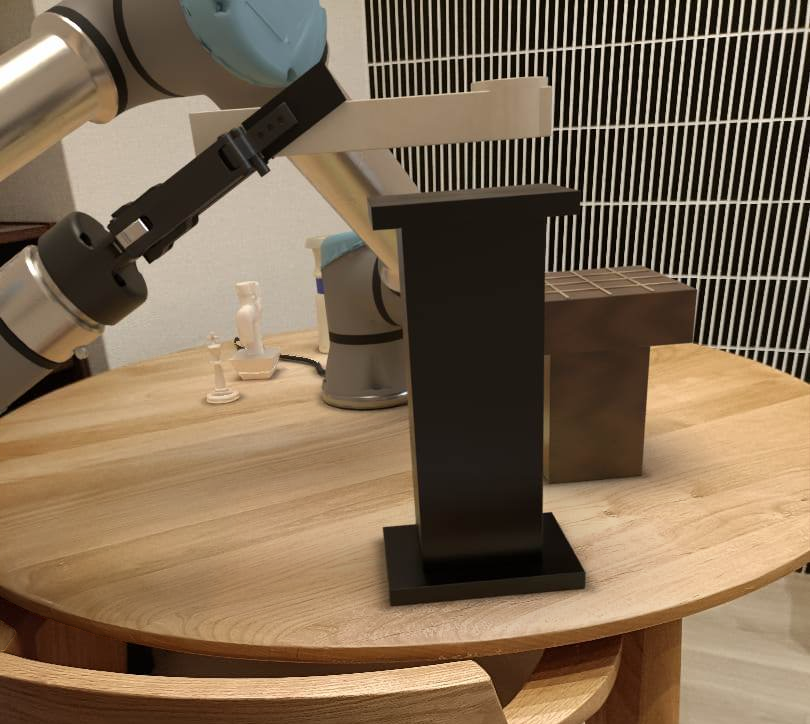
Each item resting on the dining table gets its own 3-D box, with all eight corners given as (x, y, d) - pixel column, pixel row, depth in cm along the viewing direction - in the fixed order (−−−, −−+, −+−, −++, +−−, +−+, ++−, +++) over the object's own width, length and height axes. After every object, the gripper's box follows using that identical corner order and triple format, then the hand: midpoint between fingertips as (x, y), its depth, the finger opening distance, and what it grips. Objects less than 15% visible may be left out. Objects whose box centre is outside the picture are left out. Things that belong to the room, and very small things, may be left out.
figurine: (230, 384, 131) (214, 288, 125) (244, 368, 140) (230, 278, 133) (274, 382, 131) (260, 285, 124) (286, 367, 139) (274, 275, 132)
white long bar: (195, 163, 54) (184, 101, 53) (206, 161, 59) (197, 104, 57) (555, 136, 55) (556, 74, 53) (538, 136, 60) (538, 79, 58)
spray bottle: (342, 340, 154) (327, 197, 143) (372, 346, 149) (360, 197, 138) (307, 350, 149) (290, 202, 138) (338, 355, 144) (322, 202, 133)
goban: (526, 497, 84) (526, 301, 75) (499, 445, 98) (497, 275, 89) (680, 484, 84) (698, 287, 76) (631, 433, 99) (641, 264, 90)
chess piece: (209, 395, 126) (197, 330, 122) (241, 392, 126) (230, 327, 122) (204, 404, 122) (192, 337, 117) (238, 402, 122) (227, 334, 118)
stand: (390, 606, 66) (355, 209, 53) (383, 540, 77) (353, 197, 64) (585, 588, 67) (600, 190, 53) (551, 525, 78) (556, 181, 64)
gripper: (135, 307, 69) (363, 134, 64) (76, 356, 53) (370, 133, 49) (71, 228, 66) (305, 41, 61) (-12, 256, 50) (293, 9, 46)
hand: (334, 82), depth 55 cm, fingers closed on white long bar, 4 cm apart
